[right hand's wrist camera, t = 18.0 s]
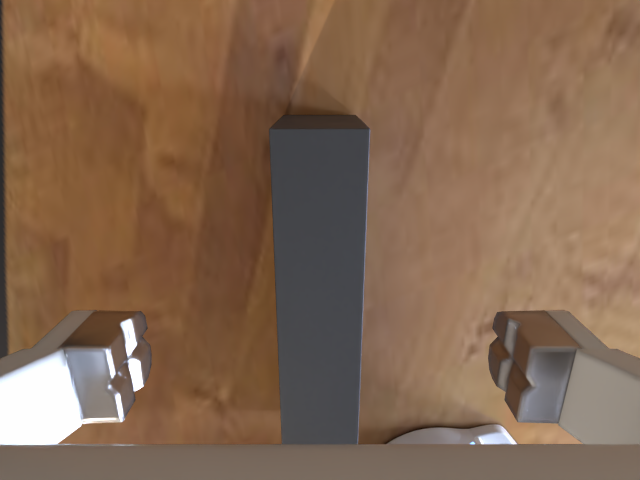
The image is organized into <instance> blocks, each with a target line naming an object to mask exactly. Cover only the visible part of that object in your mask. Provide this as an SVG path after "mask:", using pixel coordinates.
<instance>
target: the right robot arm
mask: <svg viewBox="0 0 640 480" xmlns="http://www.w3.org/2000/svg"><path fill="white" fill-rule="evenodd" d="M146 330H147V323H146V318H145V315H144V314H143V313H142V312H141V311H101V310H99V311H97V310H78V311H72V312H70V313H69V314H68V315H67V316H66V317H65V318H64V319H63V320H62V321H61V322H60V323H58V324H57V325H56V326H55V327H54V328H53V329H52V330H51V331H50V332H49V333H48V334H46V335H45V336H44V337H43V338H42V339H41V340H40V341H39V342H38V343H37V344H36V345H34V346H33V347H32V348H31V349H22V350H20V351H17V352H15V353H12V354H10V355H8V356H5V357H3V358H0V480H640V358H637V357H635V356H632V355H630V354H628V353H625V352H623V351H620V350H618V349H609V348H608V347H607V346H606V345H605V344H603V343H602V342H601V341H600V340H599V339H598V338H597V337H596V336H595V335H594V334H593V333H591V332H590V331H589V330H588V329H587V328H586V327H585V326H584V325H583V324H582V323H581V322H579V321H578V320H577V319H576V318H575V317H574V316H573V315H572V314H571V313H570V312H568V311H565V310H549V311H545V310H543V311H502V312H497V314H496V316H495V318H494V322H493V330H494V332H495V333H496V335H497V336H498V337H497V338H496V339H495V340H494V341H493V342H492V343H491V344H490V347H489V355H488V361H489V370H490V373H491V376H492V379H493V381H494V382H495V384H496V386H497V387H499V388H500V389H502V390H504V391H505V392H506V394H505V402H506V403H507V405H508V407H509V408H510V410H511V412H512V413H513V415H514V417H515V419H516V420H517V422H529V423H559V424H558V425H559V426H560V427H562V428H563V429H564V430H565V431H567V432H568V433H569V434H571V435H572V436H573V437H575V438H576V439H577V440H579V441H580V442H581V443H583V444H517V443H516V442H515V441H514V440H513V438H512V437H511V436H510V435H509V433H508V432H507V431H506V430H505V429H504V428H503V427H502V426H500V425H497V424H490V425H484V426H479V427H475V428H470V429H456V428H443V427H438V428H426V429H421V430H416V431H413V432H409V433H407V434H404V435H402V436H399V437H397V438H395V439H393V440H392V441H390V442H389V443H387V444H57V443H59V442H60V441H61V440H63V439H64V438H65V437H67V436H68V435H69V434H71V433H72V432H73V431H75V430H76V429H77V428H79V427H80V426H81V425H82V424H81V423H110V422H123V420H124V419H125V417H126V415H127V414H128V412H129V410H130V408H131V407H132V405H133V403H134V402H135V394H134V392H135V391H136V390H138V389H140V388H141V387H143V386H144V384H145V382H146V381H147V379H148V377H149V373H150V368H151V360H152V354H151V347H150V344H149V343H148V342H147V341H146V340H145V339H144V338H143V337H142V336H143V335H144V333H145V332H146Z"/></svg>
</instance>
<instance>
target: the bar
mask: <svg viewBox="0 0 640 480" xmlns="http://www.w3.org/2000/svg"><path fill="white" fill-rule="evenodd" d="M269 138H270V163H271V188H272V212H273V237H274V261H275V286H276V311H277V335H278V360H279V385H280V409H281V434H282V444H358V427H359V401H360V375H361V350H362V324H363V298H364V273H365V247H366V221H367V196H368V170H369V145H370V128H369V127H367V126H366V125H365V124H364V123H363V122H362V121H361V120H360V119H359V118H358V117H357V116H356V115H283V116H282V117H281V118H280V119H279V120H278V121H277V122H276V123H275V124H274V125H273V126H272V127H271V128H270V129H269Z"/></svg>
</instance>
